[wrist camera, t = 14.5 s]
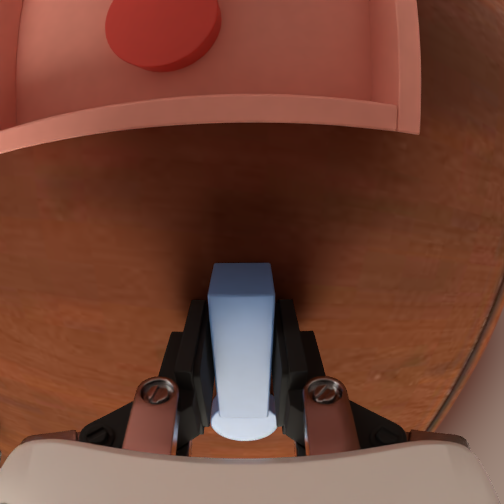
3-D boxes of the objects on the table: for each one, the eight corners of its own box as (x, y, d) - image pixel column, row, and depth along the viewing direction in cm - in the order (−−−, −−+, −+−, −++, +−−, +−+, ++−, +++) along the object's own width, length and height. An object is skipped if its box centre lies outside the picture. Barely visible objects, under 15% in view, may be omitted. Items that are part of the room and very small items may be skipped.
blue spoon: (287, 261, 11) (296, 294, 9) (275, 423, 15) (277, 456, 13) (197, 262, 11) (186, 294, 9) (214, 423, 15) (212, 456, 13)
